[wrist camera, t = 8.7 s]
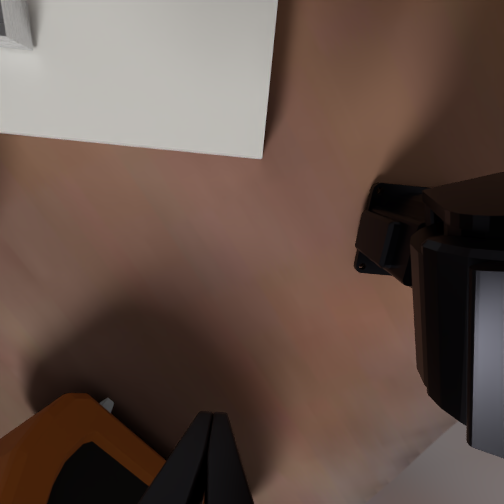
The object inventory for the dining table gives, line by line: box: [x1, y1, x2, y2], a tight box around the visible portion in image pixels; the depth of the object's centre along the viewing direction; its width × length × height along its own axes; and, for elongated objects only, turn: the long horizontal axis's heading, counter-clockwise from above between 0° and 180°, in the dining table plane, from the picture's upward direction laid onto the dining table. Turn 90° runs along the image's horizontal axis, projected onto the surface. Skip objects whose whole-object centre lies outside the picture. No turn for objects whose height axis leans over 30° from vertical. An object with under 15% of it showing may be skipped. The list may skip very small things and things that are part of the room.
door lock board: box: [0, 0, 278, 159], centre depth 13 cm, size 24×10×6 cm, turn 85°
